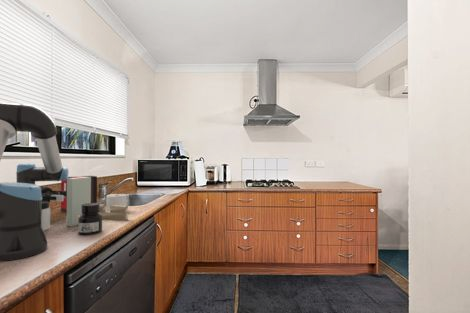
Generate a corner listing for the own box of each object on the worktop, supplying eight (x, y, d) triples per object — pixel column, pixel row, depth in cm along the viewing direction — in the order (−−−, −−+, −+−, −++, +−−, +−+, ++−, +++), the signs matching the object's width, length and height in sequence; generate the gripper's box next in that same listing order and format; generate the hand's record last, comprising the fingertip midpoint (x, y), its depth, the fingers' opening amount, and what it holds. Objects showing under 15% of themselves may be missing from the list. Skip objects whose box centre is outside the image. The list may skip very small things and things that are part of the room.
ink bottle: (72, 235, 104) (72, 206, 104) (84, 229, 113) (85, 202, 113) (96, 235, 104) (96, 206, 104) (106, 229, 113) (107, 202, 113)
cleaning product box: (90, 206, 164) (90, 175, 164) (96, 208, 158) (96, 176, 158) (60, 210, 150) (61, 177, 150) (66, 212, 145) (67, 178, 145)
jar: (22, 233, 105) (23, 205, 105) (25, 229, 112) (25, 202, 112) (49, 230, 110) (49, 203, 110) (50, 226, 117) (50, 200, 117)
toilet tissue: (114, 215, 140) (114, 197, 140) (100, 213, 145) (100, 195, 145) (130, 211, 150) (130, 194, 150) (116, 209, 155) (116, 193, 155)
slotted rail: (124, 220, 128) (124, 206, 128) (88, 217, 133) (88, 204, 133) (127, 219, 131) (127, 205, 131) (91, 216, 136) (91, 203, 136)
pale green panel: (71, 226, 117) (72, 178, 117) (66, 225, 118) (67, 178, 118) (90, 220, 128) (90, 177, 128) (85, 220, 129) (85, 176, 129)
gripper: (62, 198, 141) (94, 199, 136) (14, 206, 117) (51, 208, 112) (62, 184, 141) (94, 185, 136) (14, 190, 117) (51, 191, 112)
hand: (75, 196), depth 124 cm, fingers open, 13 cm apart
